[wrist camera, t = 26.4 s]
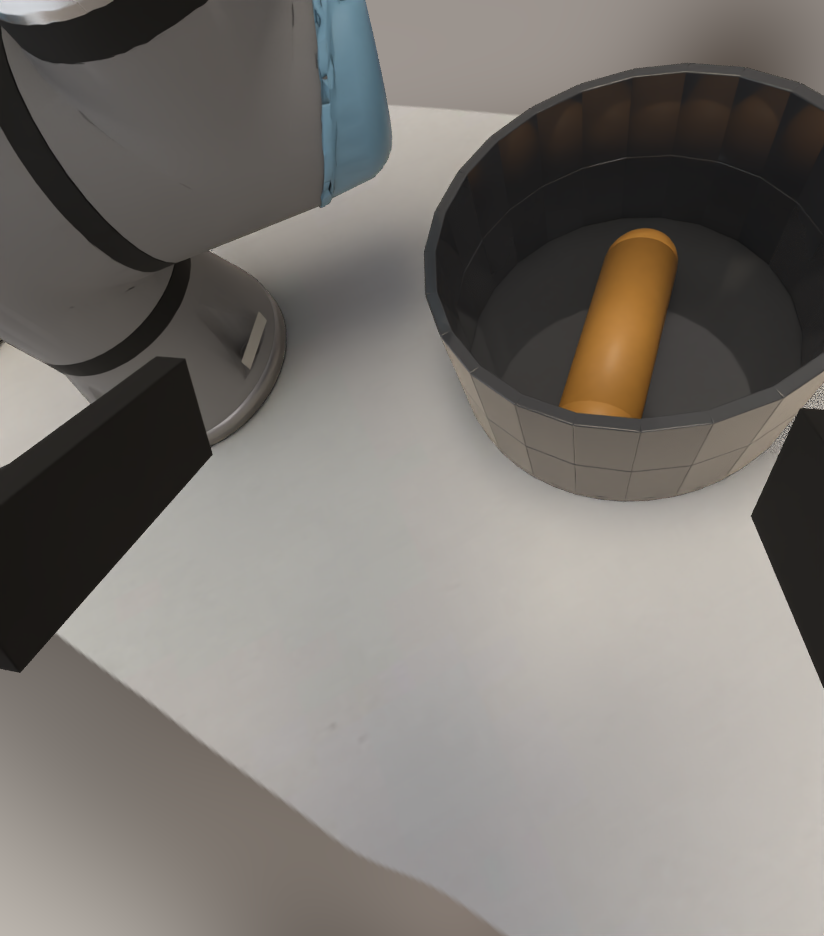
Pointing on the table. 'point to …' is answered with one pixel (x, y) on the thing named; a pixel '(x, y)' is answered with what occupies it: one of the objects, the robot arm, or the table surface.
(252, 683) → the table surface
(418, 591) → the table surface
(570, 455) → the pot
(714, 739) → the table surface
